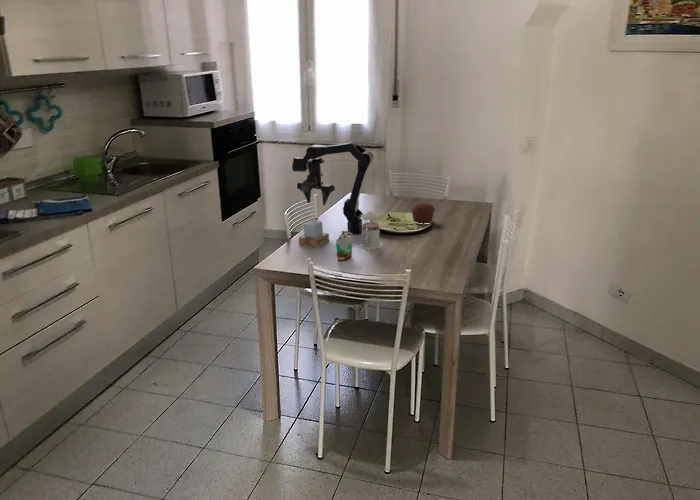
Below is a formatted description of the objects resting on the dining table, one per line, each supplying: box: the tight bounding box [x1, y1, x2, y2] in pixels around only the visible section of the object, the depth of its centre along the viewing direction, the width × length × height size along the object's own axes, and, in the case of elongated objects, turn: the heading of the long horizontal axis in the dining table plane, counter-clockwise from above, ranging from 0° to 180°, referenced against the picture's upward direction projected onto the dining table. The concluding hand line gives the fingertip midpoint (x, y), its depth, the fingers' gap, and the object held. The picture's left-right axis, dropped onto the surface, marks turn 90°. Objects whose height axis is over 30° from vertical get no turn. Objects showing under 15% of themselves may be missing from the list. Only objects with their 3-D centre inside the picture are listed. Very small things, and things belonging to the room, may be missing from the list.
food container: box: [335, 230, 355, 262], centre depth 245 cm, size 12×6×10 cm, turn 168°
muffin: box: [410, 201, 436, 224], centre depth 287 cm, size 12×11×10 cm
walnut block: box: [298, 232, 330, 248], centre depth 265 cm, size 10×10×4 cm
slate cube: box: [303, 219, 324, 238], centre depth 263 cm, size 6×6×6 cm
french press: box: [359, 191, 383, 250], centre depth 256 cm, size 10×12×25 cm
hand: (316, 204), depth 278 cm, fingers open, 9 cm apart
